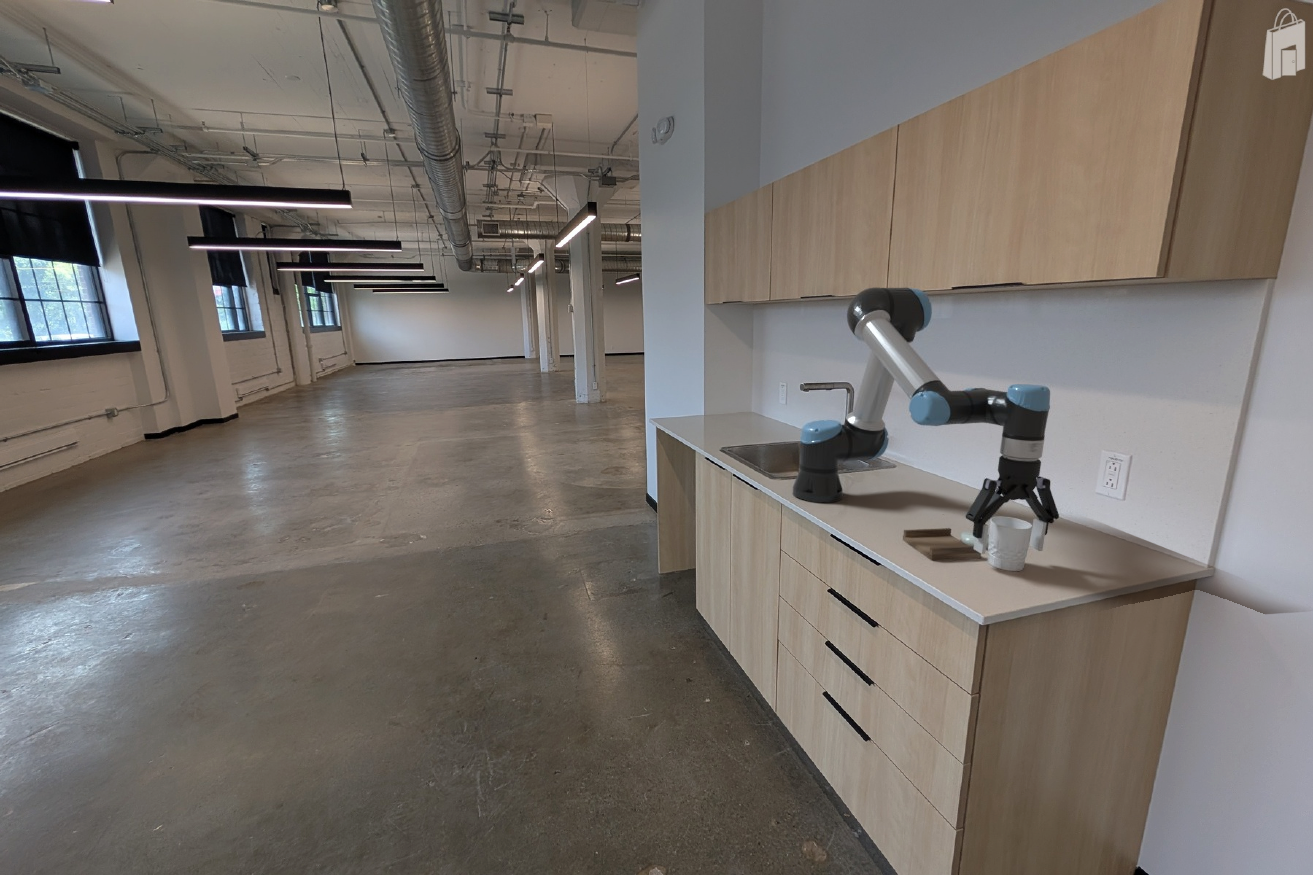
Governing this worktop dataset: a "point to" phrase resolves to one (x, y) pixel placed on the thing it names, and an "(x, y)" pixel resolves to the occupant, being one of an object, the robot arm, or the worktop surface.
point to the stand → (939, 544)
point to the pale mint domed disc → (971, 538)
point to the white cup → (1008, 543)
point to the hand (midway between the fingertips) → (1007, 550)
